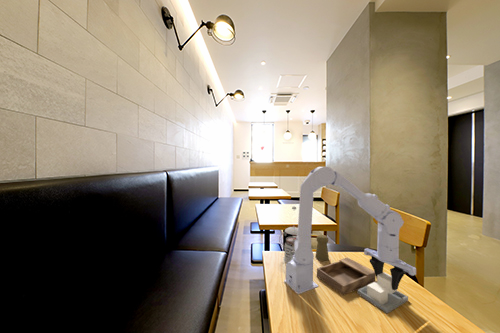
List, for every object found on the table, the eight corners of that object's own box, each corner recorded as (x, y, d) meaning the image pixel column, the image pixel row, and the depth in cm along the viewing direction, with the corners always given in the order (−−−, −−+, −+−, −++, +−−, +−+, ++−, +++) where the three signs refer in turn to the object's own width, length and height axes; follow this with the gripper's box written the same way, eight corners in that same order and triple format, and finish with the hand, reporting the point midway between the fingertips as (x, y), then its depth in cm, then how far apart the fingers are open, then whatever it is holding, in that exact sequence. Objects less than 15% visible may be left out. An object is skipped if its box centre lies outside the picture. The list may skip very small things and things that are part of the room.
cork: (331, 262, 82) (331, 238, 81) (317, 262, 82) (318, 238, 82) (325, 255, 88) (326, 233, 88) (313, 255, 88) (313, 233, 88)
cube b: (396, 290, 60) (397, 278, 60) (390, 294, 58) (390, 281, 58) (383, 283, 63) (383, 272, 63) (377, 286, 62) (377, 274, 62)
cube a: (387, 301, 57) (387, 289, 57) (380, 305, 56) (380, 292, 56) (374, 293, 61) (374, 281, 61) (367, 297, 59) (367, 285, 59)
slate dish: (387, 314, 53) (387, 308, 53) (357, 294, 61) (357, 289, 61) (408, 301, 58) (408, 296, 58) (378, 285, 66) (378, 280, 66)
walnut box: (343, 296, 60) (343, 284, 60) (316, 276, 71) (316, 267, 71) (375, 281, 68) (375, 271, 68) (347, 266, 79) (347, 257, 78)
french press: (301, 269, 76) (302, 210, 76) (275, 261, 82) (276, 206, 82) (306, 259, 84) (307, 205, 84) (283, 252, 90) (284, 202, 90)
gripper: (421, 251, 56) (420, 295, 56) (372, 235, 69) (371, 270, 69) (409, 256, 53) (408, 302, 53) (360, 238, 66) (360, 275, 66)
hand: (387, 284), depth 61 cm, fingers closed on cube b, 4 cm apart
